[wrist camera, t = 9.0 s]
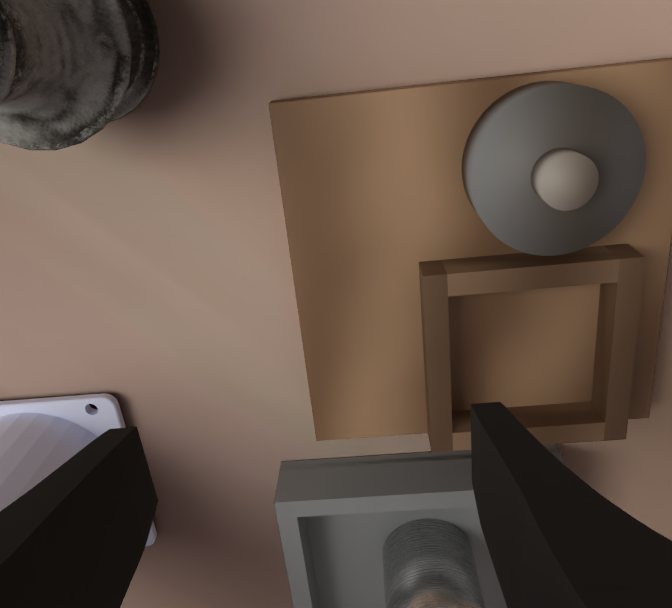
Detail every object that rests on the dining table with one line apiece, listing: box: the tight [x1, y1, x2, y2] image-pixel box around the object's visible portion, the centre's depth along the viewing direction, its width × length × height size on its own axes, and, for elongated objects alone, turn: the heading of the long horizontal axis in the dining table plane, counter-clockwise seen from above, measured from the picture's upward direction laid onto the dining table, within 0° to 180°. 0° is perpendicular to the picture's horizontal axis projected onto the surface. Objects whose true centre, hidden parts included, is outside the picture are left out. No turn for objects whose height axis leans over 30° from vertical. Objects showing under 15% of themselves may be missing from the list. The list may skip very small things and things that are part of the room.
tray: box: [274, 444, 567, 608], centre depth 27 cm, size 12×12×2 cm
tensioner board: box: [269, 57, 672, 452], centre depth 20 cm, size 13×13×4 cm
